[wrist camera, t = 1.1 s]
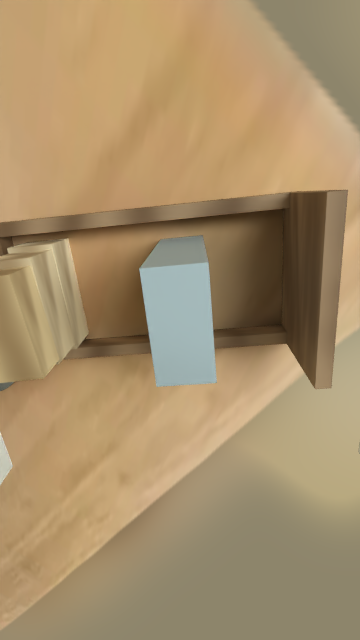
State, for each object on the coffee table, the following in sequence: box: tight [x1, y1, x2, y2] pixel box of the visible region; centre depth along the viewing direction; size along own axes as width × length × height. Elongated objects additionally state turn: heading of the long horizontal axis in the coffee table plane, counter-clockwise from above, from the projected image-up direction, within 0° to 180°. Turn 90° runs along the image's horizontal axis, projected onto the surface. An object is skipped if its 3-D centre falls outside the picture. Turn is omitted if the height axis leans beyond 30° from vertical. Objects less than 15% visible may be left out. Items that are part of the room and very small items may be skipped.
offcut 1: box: [7, 238, 89, 349], centre depth 31 cm, size 4×10×4 cm, turn 6°
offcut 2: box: [0, 249, 75, 364], centre depth 27 cm, size 4×9×4 cm, turn 6°
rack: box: [0, 190, 348, 389], centre depth 27 cm, size 28×14×10 cm, turn 96°
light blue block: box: [139, 235, 217, 387], centre depth 26 cm, size 4×8×13 cm, turn 6°
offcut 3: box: [0, 266, 60, 383], centre depth 24 cm, size 4×8×3 cm, turn 8°
